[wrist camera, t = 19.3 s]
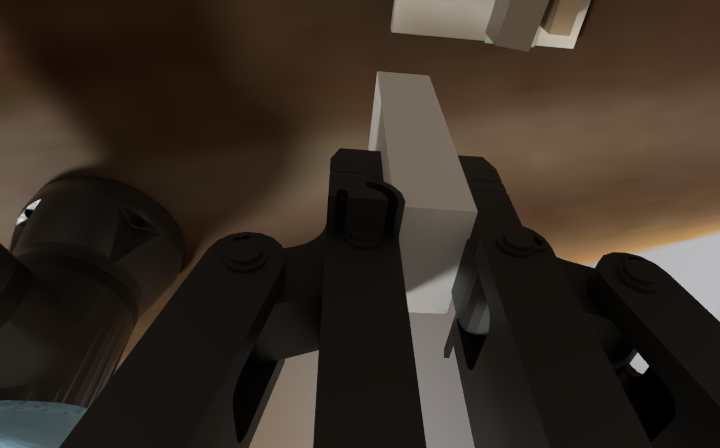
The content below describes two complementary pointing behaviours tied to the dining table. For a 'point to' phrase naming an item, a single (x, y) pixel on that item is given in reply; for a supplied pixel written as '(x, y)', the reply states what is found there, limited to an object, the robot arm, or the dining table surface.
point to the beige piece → (485, 20)
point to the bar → (515, 22)
